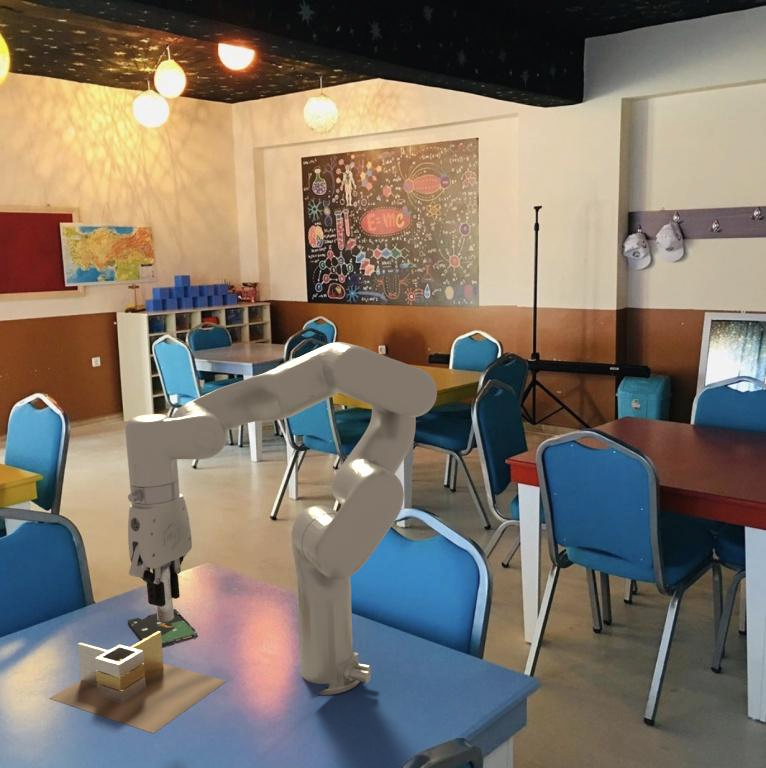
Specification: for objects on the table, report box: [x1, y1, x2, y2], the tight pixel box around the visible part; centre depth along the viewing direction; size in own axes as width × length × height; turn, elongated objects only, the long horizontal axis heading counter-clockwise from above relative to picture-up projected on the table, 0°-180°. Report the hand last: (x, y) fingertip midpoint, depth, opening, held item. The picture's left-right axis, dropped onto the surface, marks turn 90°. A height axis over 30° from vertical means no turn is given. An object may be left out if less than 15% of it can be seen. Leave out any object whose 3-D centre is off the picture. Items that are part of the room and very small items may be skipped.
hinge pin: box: [155, 562, 174, 622], centre depth 135 cm, size 3×3×10 cm
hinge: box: [77, 631, 164, 704], centre depth 148 cm, size 13×13×7 cm
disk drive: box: [127, 608, 199, 648], centre depth 168 cm, size 10×3×15 cm
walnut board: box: [49, 662, 228, 734], centre depth 145 cm, size 24×18×2 cm
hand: (164, 599), depth 136 cm, fingers closed on hinge pin, 2 cm apart
